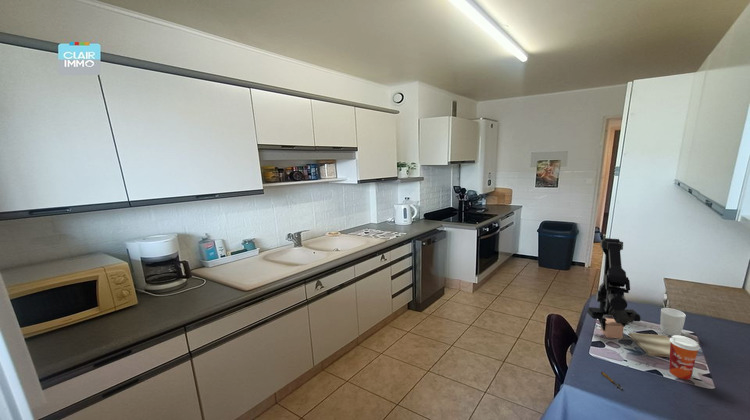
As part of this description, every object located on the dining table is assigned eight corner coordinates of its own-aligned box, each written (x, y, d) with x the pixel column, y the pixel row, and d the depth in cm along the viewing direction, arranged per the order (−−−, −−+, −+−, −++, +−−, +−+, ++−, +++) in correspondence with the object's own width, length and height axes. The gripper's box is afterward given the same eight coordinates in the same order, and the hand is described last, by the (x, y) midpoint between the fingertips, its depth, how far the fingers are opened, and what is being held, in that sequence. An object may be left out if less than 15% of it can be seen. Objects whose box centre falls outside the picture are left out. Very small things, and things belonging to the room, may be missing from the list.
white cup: (688, 337, 131) (691, 316, 129) (669, 337, 131) (672, 317, 129) (670, 327, 138) (673, 307, 137) (653, 327, 139) (656, 308, 137)
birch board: (628, 335, 134) (629, 332, 134) (665, 337, 131) (665, 335, 131) (649, 355, 121) (649, 352, 120) (690, 358, 118) (691, 356, 117)
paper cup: (670, 377, 109) (674, 344, 106) (662, 364, 115) (666, 332, 113) (699, 384, 105) (705, 349, 103) (689, 370, 112) (694, 337, 109)
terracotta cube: (600, 329, 139) (601, 318, 138) (615, 330, 138) (616, 319, 137) (607, 337, 133) (608, 325, 132) (622, 338, 132) (623, 326, 131)
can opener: (600, 374, 113) (600, 371, 113) (606, 373, 113) (606, 371, 113) (619, 392, 104) (620, 389, 104) (626, 392, 104) (626, 389, 104)
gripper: (599, 307, 127) (597, 339, 130) (651, 310, 123) (646, 343, 126) (587, 295, 138) (585, 325, 140) (634, 297, 133) (630, 328, 136)
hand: (611, 330), depth 135 cm, fingers closed on terracotta cube, 6 cm apart
